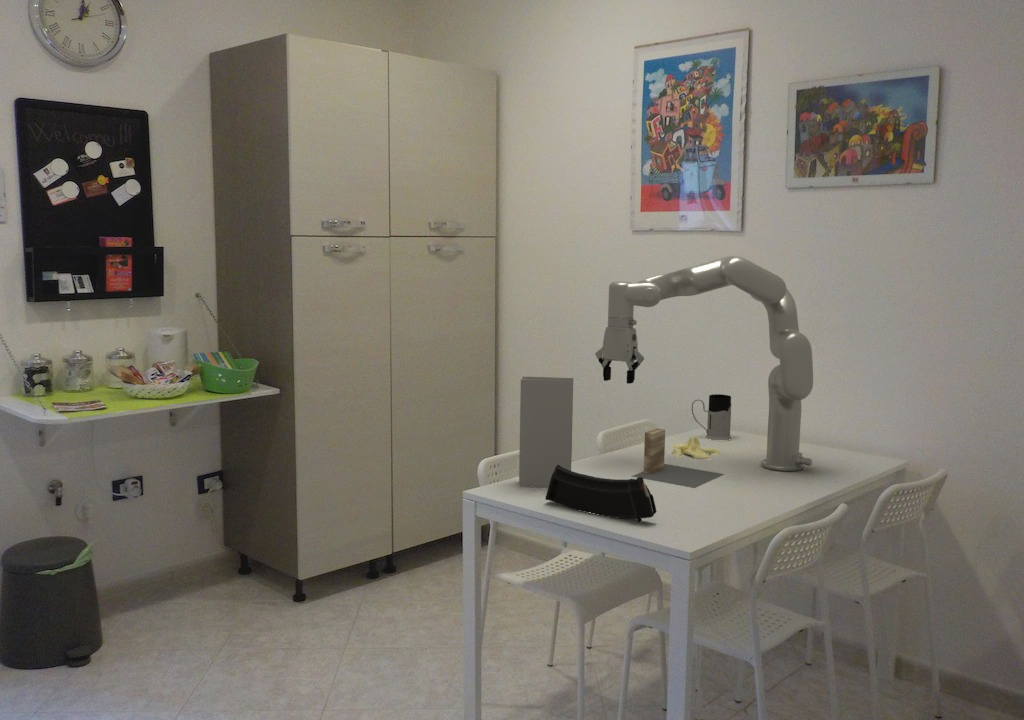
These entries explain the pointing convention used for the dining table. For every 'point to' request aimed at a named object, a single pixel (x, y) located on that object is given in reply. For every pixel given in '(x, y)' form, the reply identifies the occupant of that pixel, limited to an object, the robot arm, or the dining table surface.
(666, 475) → the mat
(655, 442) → the tile
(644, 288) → the robot arm
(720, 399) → the glass holder
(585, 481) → the magazine
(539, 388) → the grey tall flat panel
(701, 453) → the cloth
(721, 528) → the dining table surface
